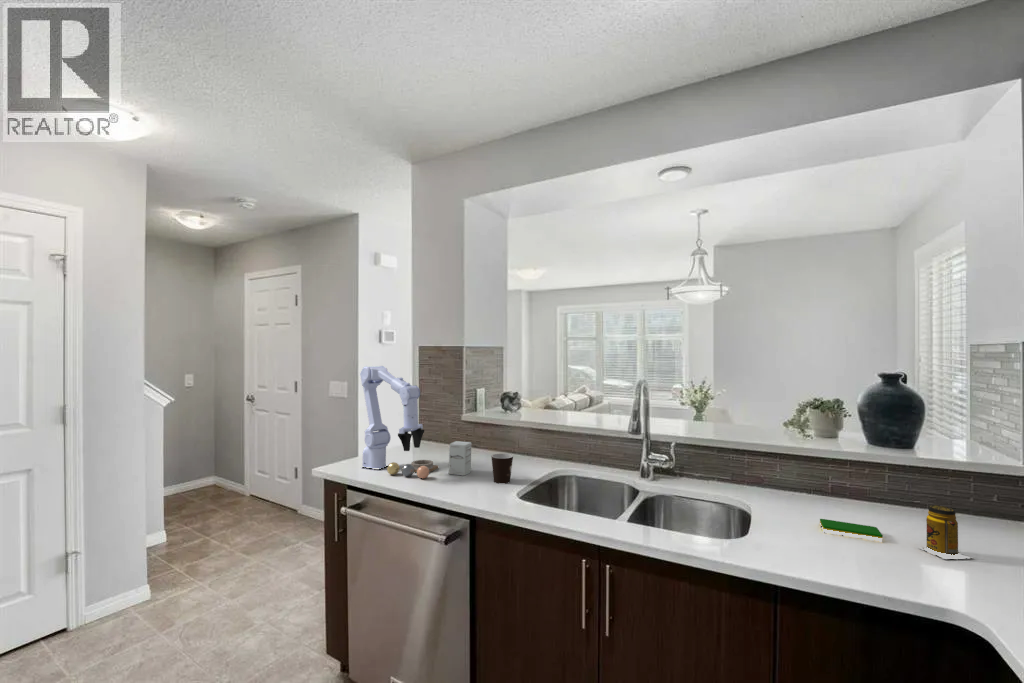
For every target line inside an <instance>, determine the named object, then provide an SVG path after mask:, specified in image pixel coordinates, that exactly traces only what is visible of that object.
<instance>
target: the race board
mask: <svg viewBox="0 0 1024 683" xmlns="http://www.w3.org/2000/svg"><path fill="white" fill-rule="evenodd" d="M410 464H411V465H412V466H413V467H414V472H417V469H418V468H419V467H420V466H426V467H428V469H429V472H430V473H432V472H433V470H434V471H435V469H436V470H438V469H439V465H437V464H434V461H432V460H430V459H429V460H428V459H417V460H413V461H411V463H410ZM437 468H438V469H437ZM431 471H432V472H431Z"/></svg>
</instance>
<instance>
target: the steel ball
mask: <svg viewBox="0 0 1024 683" xmlns="http://www.w3.org/2000/svg"><path fill="white" fill-rule="evenodd" d="M401 474H402V475H403V476H404V477H408V476H410V477H411V476H413V475H414V467H413V466H412V465H411V463H407V464H404V465H403V466H402V468H401Z"/></svg>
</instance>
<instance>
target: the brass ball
mask: <svg viewBox="0 0 1024 683" xmlns="http://www.w3.org/2000/svg"><path fill="white" fill-rule="evenodd" d="M400 467H401V466H400V465H399V464H398V462H394V461H393V462H390V463H389V464H388V467H386V471H387V473H388V474H389V475H391V474H392V475H391V476H395V475H397V474H398V473H399V472H400V469H401V468H400ZM394 474H395V475H394Z"/></svg>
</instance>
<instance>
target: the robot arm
mask: <svg viewBox="0 0 1024 683" xmlns="http://www.w3.org/2000/svg"><path fill="white" fill-rule="evenodd" d="M359 376H360V382H361V386H362V388H363V394H364V395H363V396H364V400H365V406H366V412H367V418H368V424H369V426H368V427H367V428H366V429H365V431H364V444H365V445H366V446H365V447H364V448H363V451H362V463H361V464H362V466H364V467H370V468H379V469H380V468H383V469H385V468H384V467H385V466H386V464H387V447H388V444H390V442H391V433H390V432H389V428H388V426H387V425H385V424H384V423H383V420H382V415H381V409H380V403H379V399H378V398H379V397H378V392H377V388H378V386H380V385H381V384H382V382H385V383H387V384H389V385H390V388H391V389H392V390H393V391H394V392H396V393H397V394H399V397H400V400H401V403H402V406H403V408H402V409H403V427H400V428H398V433H397V437H398V438H399V440H400V442H401V444H402V447H403V451H404V452H410V449H411V441H412V440H413V447H414V448H416V449H417V448H418V449H420V446H421V442H422V438H423V435H424V433H425V429H424V428H423V423H419V415H418V414H419V412H418V411H419V410H418V408H419V407H418V404H419V403H418V399H419V398H420V396H421V389H420V387H419V386H418V385H416V384H415V385H411V383H410V382H407V381H406V380H405V379H404V378H403V377H402V376H399V377H395V376H394V375H393V373H390V372H389V371H388V368H387V367H386V366H383V365H379V366H373V365H372V366H367V365H366V366H363V367H362V369H361V371H360V372H359ZM411 439H412V440H411ZM362 466H361V467H362Z"/></svg>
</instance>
